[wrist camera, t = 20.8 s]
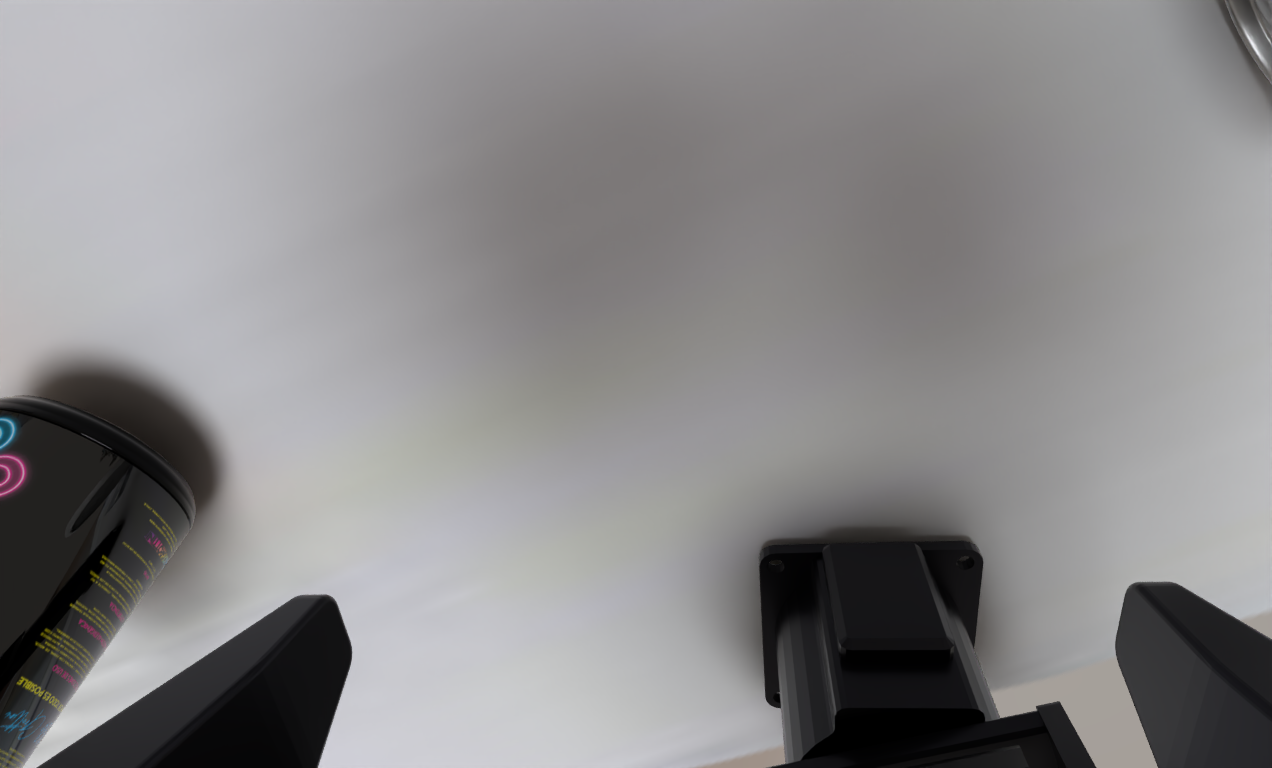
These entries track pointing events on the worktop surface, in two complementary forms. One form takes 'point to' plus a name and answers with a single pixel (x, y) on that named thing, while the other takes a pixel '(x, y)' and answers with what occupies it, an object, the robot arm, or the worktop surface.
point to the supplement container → (72, 553)
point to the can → (1254, 29)
